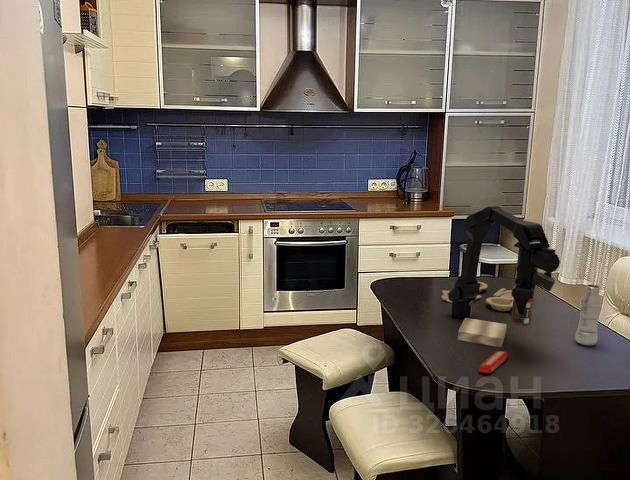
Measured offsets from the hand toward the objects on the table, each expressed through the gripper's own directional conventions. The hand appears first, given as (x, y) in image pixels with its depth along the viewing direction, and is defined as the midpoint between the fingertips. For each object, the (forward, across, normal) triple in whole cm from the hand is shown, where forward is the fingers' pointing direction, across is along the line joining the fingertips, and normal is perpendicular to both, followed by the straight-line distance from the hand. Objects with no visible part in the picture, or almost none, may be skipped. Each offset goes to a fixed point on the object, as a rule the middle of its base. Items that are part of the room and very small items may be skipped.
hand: (521, 311), depth 180 cm
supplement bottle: (+4, 0, 0) cm, 4 cm away
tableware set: (+14, +48, +16) cm, 52 cm away
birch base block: (+13, +6, +12) cm, 19 cm away
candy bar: (+13, -16, +6) cm, 22 cm away
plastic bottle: (+13, +14, -20) cm, 28 cm away
